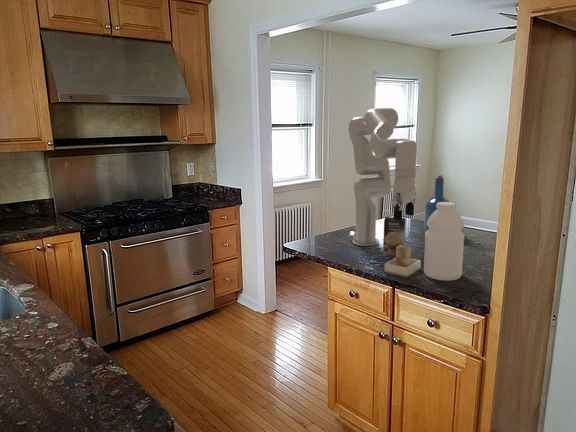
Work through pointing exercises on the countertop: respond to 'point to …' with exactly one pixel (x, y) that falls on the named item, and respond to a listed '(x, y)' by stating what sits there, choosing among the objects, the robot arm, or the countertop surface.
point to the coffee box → (393, 235)
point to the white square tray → (402, 268)
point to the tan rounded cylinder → (403, 256)
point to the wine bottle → (434, 200)
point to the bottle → (444, 243)
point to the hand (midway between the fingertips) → (403, 217)
